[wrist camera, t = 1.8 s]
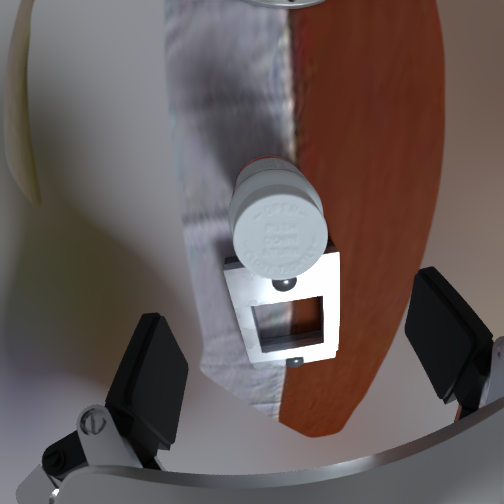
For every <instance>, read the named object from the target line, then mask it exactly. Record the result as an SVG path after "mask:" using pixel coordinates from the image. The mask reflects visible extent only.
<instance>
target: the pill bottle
mask: <svg viewBox="0 0 504 504" xmlns="http://www.w3.org/2000/svg"><path fill="white" fill-rule="evenodd" d="M228 221H229V226H230V230H231V233H232V235H233V246H234V250H235V252H236V255H237V257H238V258H239V260H240V261H241V263H242V264H243V265H244V266H245V267H246V268H247V269H248V270H249V271H251V272H252V273H254V274H256V275H258V276H260V277H263V278H267V279H273V280H285V279H291V278H294V277H297V276H300V275H302V274H304V273H305V272H307V271H308V270H310V269H311V268H312V267H313V266H314V265H315V264H316V263H317V262H318V261H319V260H320V258H321V257H322V255H323V253H324V251H325V248H326V245H327V239H328V230H327V225H326V221H325V219H324V217H323V208H322V204H321V200H320V198H319V196H318V194H317V192H316V190H315V189H314V188H313V186H312V185H311V184H310V183H309V182H308V180H307V179H306V178H305V177H304V175H303V174H302V173H301V172H300V171H299V170H298V169H297V168H296V167H295V166H294V165H293V164H292V163H291V162H289V161H288V160H286V159H284V158H282V157H279V156H273V155H266V156H260V157H257V158H255V159H253V160H251V161H249V162H248V163H247V164H246V165H245V166H244V167H243V168H242V169H241V171H240V172H239V174H238V176H237V179H236V183H235V187H234V191H233V195H232V198H231V202H230V206H229V212H228Z"/></svg>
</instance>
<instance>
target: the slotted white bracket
mask: <svg viewBox="0 0 504 504" xmlns="http://www.w3.org/2000/svg"><path fill="white" fill-rule="evenodd" d="M223 271H224V275H225V278H226V282H227V285H228V289H229V292H230V296H231V299H232V303H233V306H234V310H235V313H236V316H237V320H238V323H239V327H240V330H241V333H242V337H243V340H244V343H245V346H246V350H247V353H248V356H249V359H250V363H253V365H254V369H263V368H271V367H279V366H286V365H287V366H288V367H292V368H294V367H299V366H301V365H302V364H303V363H305V362H311V361H316V360H322V359H327V358H332V357H335V350H338V330H339V251H338V250H337V248H336V246H335V244H334V243H333V241H329V242H327V245H326V248H325V251H324V253H323V255H322V257H321V258H320V260H319V261H318V262H317V263H316V264H315V265H314V266H313V267H312V268H311V269H310V270H308V271H307V272H305V273H304V274H302V275H300V276H297V277H294V278H291V279H285V280H273V279H267V278H263V277H260V276H258V275H256V274H254V273H252V272H251V271H249V270H248V269H247V268H246V267H245V266H244V265H243V264H242V263H241V261H240V260H239V258H238V257H237V256H236V257H230V258H225V264H224V270H223ZM319 295H320V318H321V330H317V331H312V332H306V333H300V334H294V335H288V336H281V337H274V338H267V339H261V335H260V331H259V327H258V322H257V318H256V314H255V310H254V306H257V305H264V304H270V303H277V302H283V301H290V300H296V299H302V298H308V297H314V296H319Z"/></svg>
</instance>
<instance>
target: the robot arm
mask: <svg viewBox="0 0 504 504" xmlns="http://www.w3.org/2000/svg"><path fill="white" fill-rule="evenodd" d="M241 1H244V2H247V3H250V4H253V5H257V6H262V7H267V8H277V9H297V8H303V7H309V6H313V5H316V4H320V3H322V2H324V1H326V0H290V1H292V2H289V0H241ZM405 334H406V336H407V338H408V339H409V341H410V343H411V345H412V347H413V349H414V351H415V352H416V354H417V356H418V358H419V360H420V362H421V363H422V365H423V367H424V369H425V371H426V373H427V375H428V377H429V379H430V381H431V383H432V385H433V387H434V389H435V392H436V393H437V396H438V397H439V398H440V399H443V401H444V403H445V404H448V403H450V402H452V401H454V400H456V399H457V401H458V403H459V405H458V410H457V413H456V417H455V420H454V423H453V424H451V425H448V426H446V427H444V428H442V429H440V430H438V431H436V432H433V433H431V434H429V435H427V436H424V437H422V438H419V439H417V440H414V441H412V442H409V443H407V444H404V445H401V446H398V447H396V448H393V449H390V450H387V451H384V452H380V453H377V454H374V455H370V456H367V457H363V458H359V459H356V460H351V461H347V462H343V463H338V464H334V465H329V466H324V467H318V468H312V469H306V470H299V471H290V472H282V473H271V474H256V475H255V474H254V475H205V474H190V473H178V472H168V471H166V470H165V468H164V467H163V465H162V464H161V462H160V461H159V459H158V457H157V450H158V449H161V450H170V445H171V444H173V443H174V442H175V438H176V433H177V427H178V422H179V416H180V411H181V405H182V400H183V395H184V390H185V385H186V380H187V375H188V363H187V361H186V359H185V357H184V355H183V353H182V352H181V350H180V348H179V346H178V344H177V342H176V340H175V338H174V336H173V334H172V332H171V330H170V327H169V325H168V323H167V321H166V319H165V317H164V316H160V314H159V313H146V314H143V315H142V316H141V319H140V321H139V323H138V325H137V327H136V329H135V331H134V334H133V336H132V338H131V340H130V343H129V345H128V347H127V349H126V351H125V354H124V356H123V358H122V361H121V363H120V365H119V368H118V370H117V373H116V375H115V378H114V380H113V383H112V385H111V387H110V390H109V392H108V395H107V398H106V400H105V401H106V404H105V406H102V405H98V404H97V405H91V406H89V407H87V408H85V409H84V410H83V411H82V412H81V413H80V415H79V417H78V419H77V423H76V425H77V430H76V431H74V432H73V433H71V434H69V435H67V436H66V437H64V438H62V439H61V440H59V441H57V442H55V443H54V444H52V445H51V446H49V447H48V448H47V449H46V450H45V452H44V454H43V456H42V465H43V466H42V465H40V464H39V465H38V466H37V467H36V468H35V469H34V470H33V471H32V472H31V474H30V475H28V477H27V478H26V479H25V480H24V481H23V482H22V483H21V484H20V485H19V486H18V488H17V490H16V499H17V502H18V504H504V336H502V337H499V338H497V339H496V340H495V342H493V340H492V337H493V334H492V333H491V332H490V330H489V329H488V328H487V327H486V325H485V324H484V323H483V322H482V320H481V319H480V318H479V317H478V315H477V314H476V313H475V312H474V311H473V309H472V308H471V307H470V306H469V305H468V304H467V302H466V301H465V300H464V299H463V298H462V297H461V295H459V293H458V292H457V291H456V290H455V289H454V288H453V287H452V285H450V283H449V282H448V281H447V280H446V279H445V278H444V277H443V276H442V275H441V274H440V273H439V272H438V271H437V270H436V268H434V267H427V268H423V269H420V270H419V271H418V274H416V275H415V277H414V283H413V289H412V294H411V300H410V305H409V310H408V315H407V319H406V323H405Z"/></svg>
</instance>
